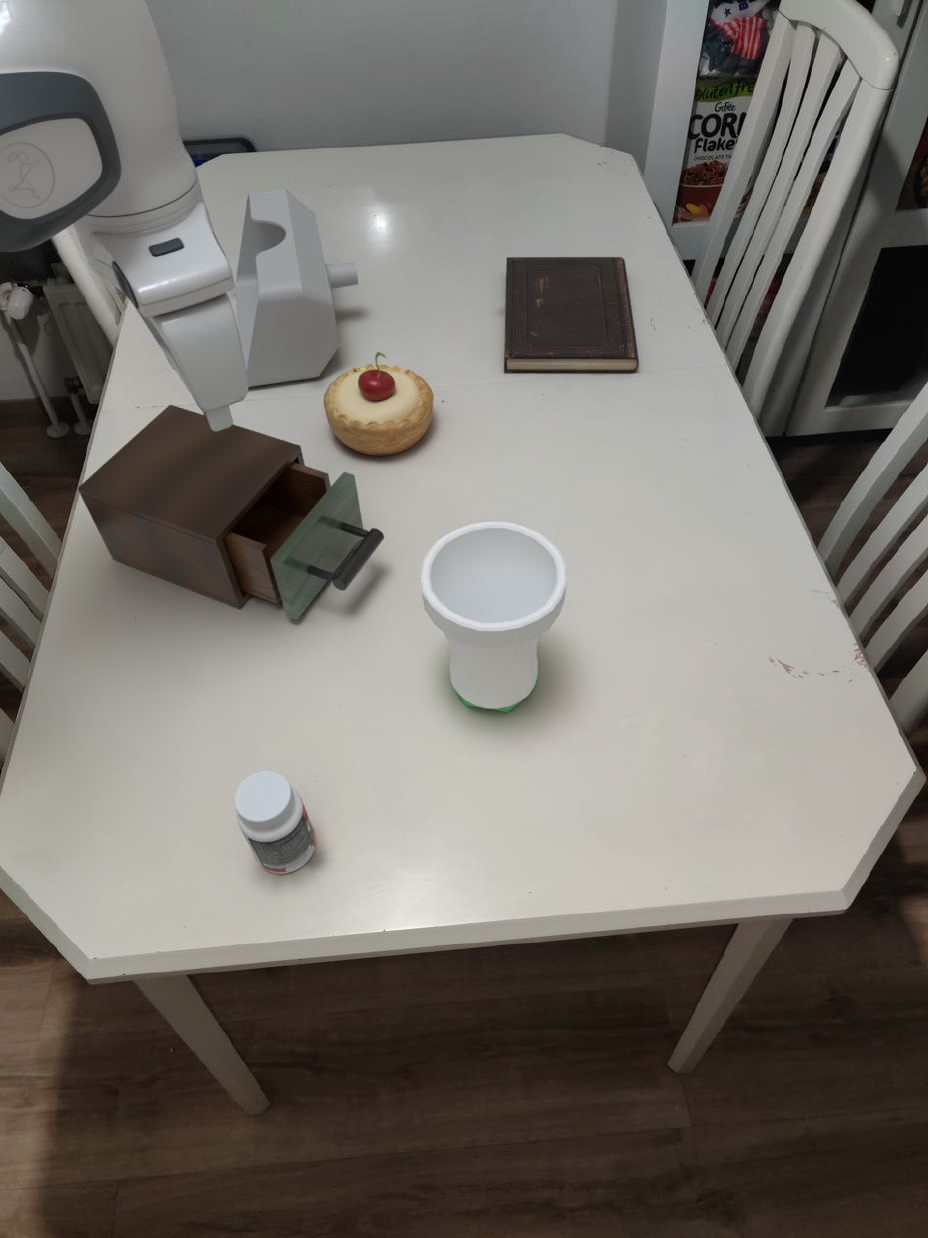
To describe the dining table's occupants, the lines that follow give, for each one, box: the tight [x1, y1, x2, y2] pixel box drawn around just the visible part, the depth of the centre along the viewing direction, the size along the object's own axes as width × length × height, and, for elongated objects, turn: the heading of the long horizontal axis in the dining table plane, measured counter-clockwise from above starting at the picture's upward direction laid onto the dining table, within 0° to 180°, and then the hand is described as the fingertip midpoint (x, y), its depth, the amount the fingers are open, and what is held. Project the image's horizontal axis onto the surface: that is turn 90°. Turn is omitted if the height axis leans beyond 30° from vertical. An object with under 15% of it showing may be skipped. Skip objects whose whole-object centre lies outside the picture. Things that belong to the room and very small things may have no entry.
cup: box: [419, 521, 568, 713], centre depth 71 cm, size 11×11×14 cm
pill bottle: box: [233, 769, 317, 875], centre depth 64 cm, size 5×5×8 cm
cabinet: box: [77, 404, 306, 610], centre depth 85 cm, size 16×14×10 cm
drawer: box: [222, 462, 385, 621], centre depth 82 cm, size 19×12×8 cm, turn 64°
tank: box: [235, 188, 359, 388], centre depth 107 cm, size 25×16×12 cm, turn 12°
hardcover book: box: [503, 256, 640, 374], centre depth 111 cm, size 16×23×2 cm
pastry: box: [323, 351, 434, 456], centre depth 95 cm, size 12×12×9 cm
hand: (200, 393), depth 71 cm, fingers open, 8 cm apart
